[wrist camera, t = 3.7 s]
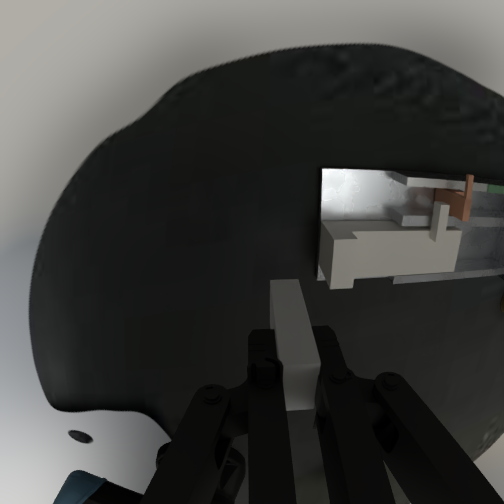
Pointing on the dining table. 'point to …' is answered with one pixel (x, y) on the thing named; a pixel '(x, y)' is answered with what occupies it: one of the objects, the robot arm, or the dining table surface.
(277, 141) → the dining table surface
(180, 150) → the dining table surface
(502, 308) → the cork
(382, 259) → the plunger
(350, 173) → the gauge housing
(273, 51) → the dining table surface
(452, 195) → the brown l-shaped block
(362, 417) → the robot arm
